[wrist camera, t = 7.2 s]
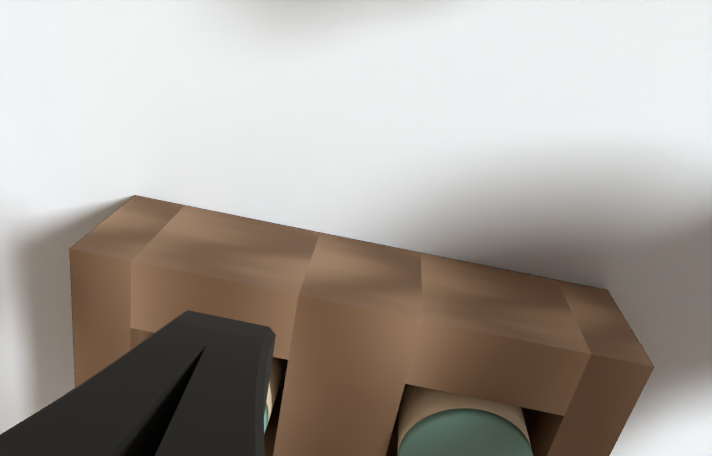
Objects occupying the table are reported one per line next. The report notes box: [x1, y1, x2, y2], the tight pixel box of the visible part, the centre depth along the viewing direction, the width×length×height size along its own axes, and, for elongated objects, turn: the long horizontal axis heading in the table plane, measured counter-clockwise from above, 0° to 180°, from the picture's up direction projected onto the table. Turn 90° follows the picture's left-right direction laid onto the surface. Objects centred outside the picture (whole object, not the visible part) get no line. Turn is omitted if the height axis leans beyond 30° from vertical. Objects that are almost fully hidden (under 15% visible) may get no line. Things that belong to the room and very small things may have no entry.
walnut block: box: [70, 195, 654, 456], centre depth 19 cm, size 16×9×4 cm, turn 79°
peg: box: [398, 384, 533, 456], centre depth 19 cm, size 4×4×4 cm
